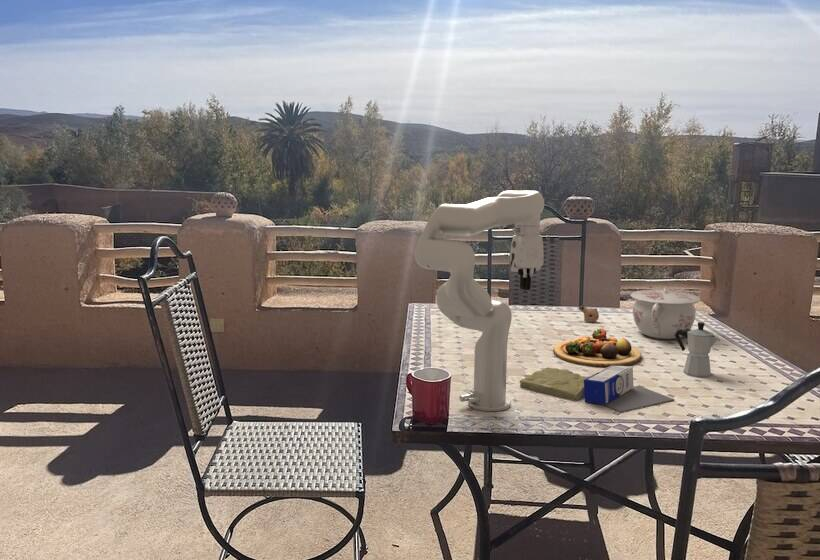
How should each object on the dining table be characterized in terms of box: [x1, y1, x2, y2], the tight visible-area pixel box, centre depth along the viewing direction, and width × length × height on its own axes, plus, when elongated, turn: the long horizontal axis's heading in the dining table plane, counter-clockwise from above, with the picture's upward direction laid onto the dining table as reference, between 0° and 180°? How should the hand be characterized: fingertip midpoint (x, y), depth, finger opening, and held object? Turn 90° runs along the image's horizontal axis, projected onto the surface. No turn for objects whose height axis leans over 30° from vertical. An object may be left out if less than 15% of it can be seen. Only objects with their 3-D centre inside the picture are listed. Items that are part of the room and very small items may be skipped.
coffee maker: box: [675, 321, 720, 378], centre depth 229 cm, size 15×9×18 cm, turn 45°
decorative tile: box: [519, 367, 589, 401], centre depth 216 cm, size 19×20×4 cm
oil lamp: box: [578, 304, 600, 324], centre depth 302 cm, size 9×4×8 cm, turn 75°
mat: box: [601, 385, 675, 413], centre depth 205 cm, size 22×14×1 cm, turn 118°
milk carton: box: [584, 366, 635, 406], centre depth 207 cm, size 7×7×20 cm
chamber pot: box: [629, 286, 702, 341], centre depth 278 cm, size 28×28×21 cm
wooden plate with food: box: [553, 327, 642, 369], centre depth 251 cm, size 32×32×8 cm
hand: (525, 289), depth 210 cm, fingers closed
